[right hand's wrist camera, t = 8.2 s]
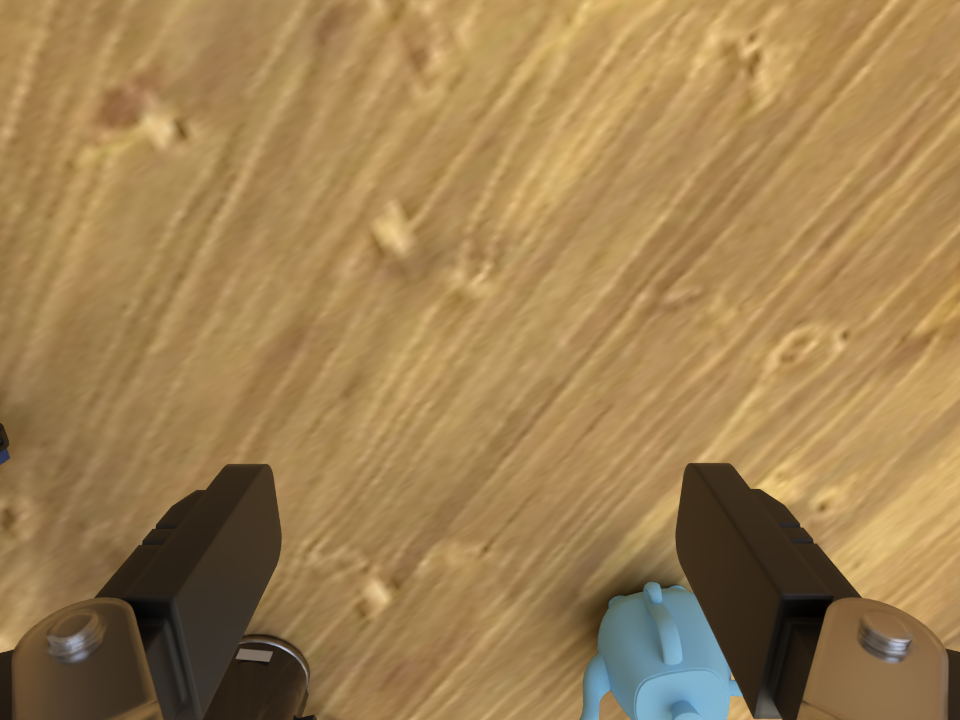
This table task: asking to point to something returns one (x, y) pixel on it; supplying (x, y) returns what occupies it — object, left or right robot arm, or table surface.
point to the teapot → (659, 659)
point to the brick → (4, 456)
